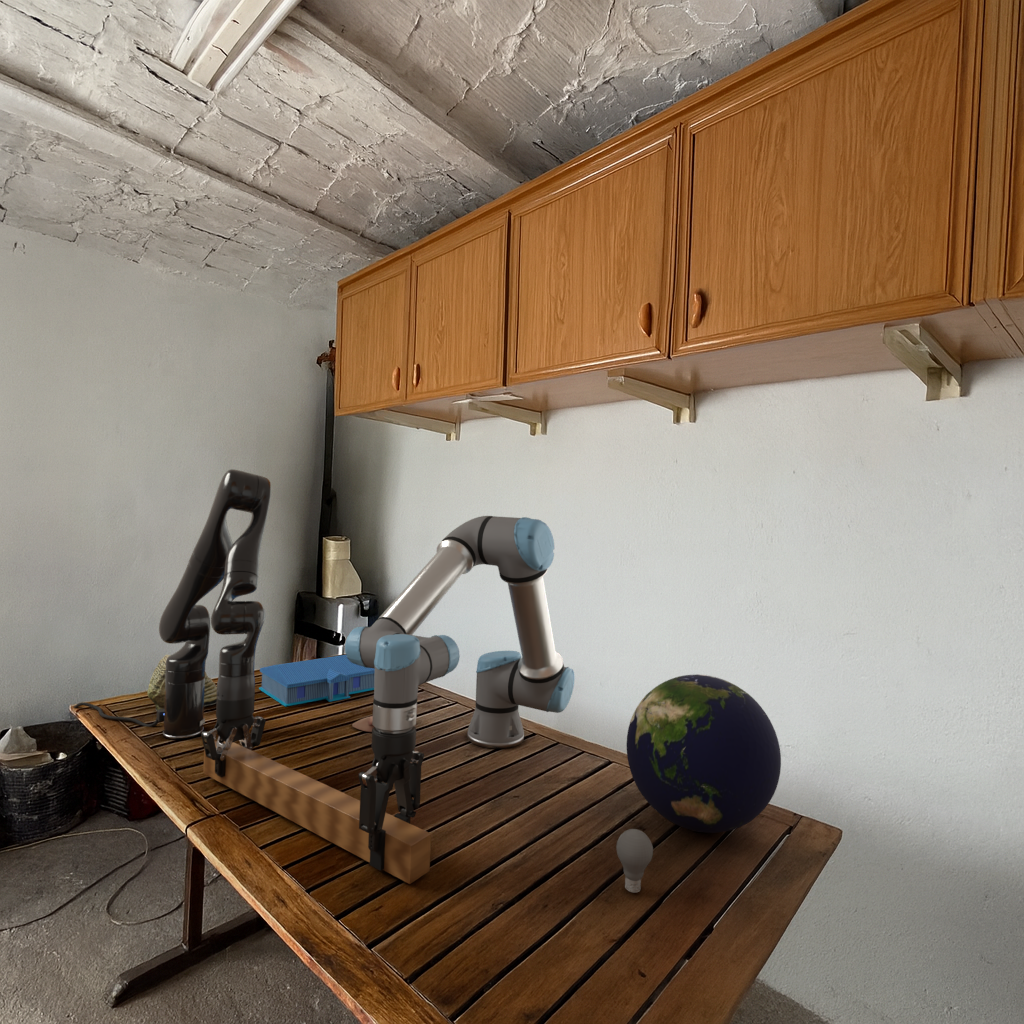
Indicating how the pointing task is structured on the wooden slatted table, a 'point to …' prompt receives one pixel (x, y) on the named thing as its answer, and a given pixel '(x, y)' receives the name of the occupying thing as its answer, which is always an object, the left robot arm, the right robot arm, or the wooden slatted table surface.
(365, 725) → the anatomical model
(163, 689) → the fossil
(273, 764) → the post
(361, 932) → the wooden slatted table surface
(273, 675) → the model building
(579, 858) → the wooden slatted table surface
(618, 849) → the light bulb
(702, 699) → the globe
